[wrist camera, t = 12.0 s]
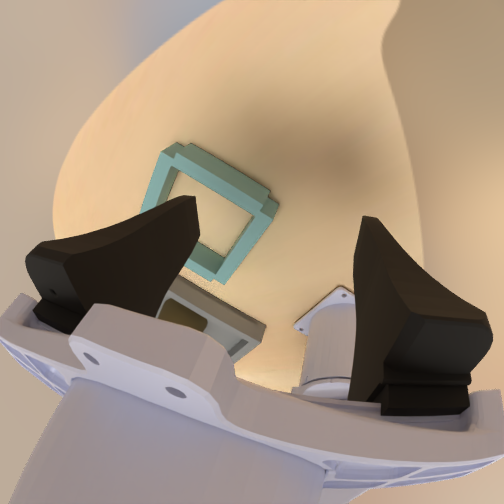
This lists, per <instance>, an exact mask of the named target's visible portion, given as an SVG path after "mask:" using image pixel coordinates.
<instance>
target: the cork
mask: <svg viewBox="0 0 504 504" xmlns="http://www.w3.org/2000/svg"><path fill="white" fill-rule="evenodd" d="M157 319H160V320H164V321H168V322H172V323H175V324H179V325H183V326H187V327H190V328H192V329H195V330H197V331H200V332H202V333H203V331H204V330H205V329H206V327H207V324H208V322H207V319H206V318H204V317H203V316H201V315H199V314H197V313H196V312H194V311H192V310H191V309H189V308H187V307H186V306H184V305H182V304H181V303H179V302H177V301H176V300H174V299H172V298H170V299H168V300H166V301H165V302H164V304H163V306H162V309H161V311H160V314H159V316H158V318H157Z"/></svg>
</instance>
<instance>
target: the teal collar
mask: <svg viewBox="0 0 504 504" xmlns="http://www.w3.org/2000/svg"><path fill="white" fill-rule="evenodd" d="M179 170H180V171H182V172H183V173H185V174H187V175H188V176H190V177H192V178H193V179H195V180H197V181H198V182H200V183H202V184H203V185H205V186H207V187H208V188H210V189H212V190H213V191H215V192H216V193H218V194H220V195H221V196H223V197H225V198H226V199H228V200H230V201H231V202H233V203H234V204H236V205H238V206H239V207H241V208H243V209H244V210H246V211H247V212H249V213H251V214H252V215H253V217H252V218H251V220H250V221H249V223H248V224H247V226H246V227H245V229H244V230H243V231H242V233H241V234H240V236H239V237H238V239H237V240H236V242H235V243H234V245H233V246H232V248H231V249H230V251H229V252H228V254H227V255H226V257H225V258H224V257H222V256H220V255H219V254H217V253H215V252H214V251H212V250H210V249H209V248H207V247H206V246H204V245H202V244H201V243H199V242H197V244H196V246H195V248H194V250H193V252H192V254H191V255H190V257H189V258H188V260H187V261H186V263H185V265H184V266H185V267H187V268H188V269H190V270H192V271H193V272H195V273H197V274H198V275H200V276H202V277H203V278H205V279H207V280H208V281H210V282H211V281H212V279H215V280H217V281H218V282H220V283H222V284H223V285H225V284H226V282H227V281H228V280H229V278H230V277H231V276H232V274H233V273H234V272H235V270H236V269H237V268H238V266H239V265H240V264H241V262H242V261H243V259H244V258H245V257H246V255H247V254H248V253H249V251H250V250H251V249H252V247H253V246H254V245H255V243H256V242H257V241H258V239H259V238H260V237H261V235H262V234H263V233H264V231H265V230H266V229H267V227H268V226H269V225H270V223H271V222H272V221H273V219H274V217H275V214H276V211H277V209H278V206H279V204H278V203H276V202H275V201H273V200H272V199H270V198H268V195H269V193H270V190H268V189H267V188H265V187H263V186H262V185H260V184H259V183H257V182H255V181H254V180H252V179H251V178H249V177H247V176H246V175H244V174H243V173H241V172H239V171H238V170H236V169H234V168H233V167H231V166H229V165H228V164H226V163H224V162H223V161H221V160H219V159H218V158H216V157H214V156H212V155H211V154H209V153H207V152H206V151H204V150H202V149H200V148H199V147H197V146H195V145H193V144H192V143H190V144H189V145H187V146H186V147H184V146H182V145H180V144H178V143H177V142H176V143H174V144H173V145H171V146H169V147H168V148H166V149H164V150H163V151H161V153H160V155H159V158H158V161H157V163H156V166H155V169H154V172H153V175H152V177H151V180H150V183H149V186H148V189H147V192H146V195H145V198H144V201H143V204H142V208H141V211H140V214H141V213H143V212H145V211H148V210H150V209H152V208H154V207H156V206H158V205H160V204H162V203H165V202H166V200H167V198H168V195H169V193H170V190H171V188H172V185H173V183H174V180H175V178H176V176H177V173H178V171H179Z"/></svg>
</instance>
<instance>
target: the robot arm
mask: <svg viewBox="0 0 504 504" xmlns="http://www.w3.org/2000/svg"><path fill="white" fill-rule="evenodd" d="M199 237H200V229H199V221H198V213H197V205H196V197H195V196H186V195H183V196H179V197H176V198H174V199H171V200H169V201H167V202H165V203H162V204H160V205H158V206H156V207H154V208H152V209H150V210H148V211H145V212H143V213H141V214H139V215H136V216H134V217H132V218H130V219H128V220H125V221H123V222H120V223H118V224H115V225H112V226H109V227H106V228H103V229H100V230H97V231H93V232H90V233H87V234H83V235H78V236H74V237H69V238H64V239H58V240H51V241H44V242H41V243H40V244H38V245H37V246H36V247H35V248H34V249H33V250H32V251H31V252H30V253H29V254H28V255H27V256H26V260H25V263H26V268H27V271H28V273H29V276H30V278H31V279H32V281H33V283H34V285H35V287H36V289H37V290H38V292H39V293H40V295H41V297H42V299H41V300H40V302H39V303H38V302H37V301H36V300H35V299H33V298H32V297H30V296H28V295H26V294H24V293H20V295H19V296H18V297H17V298H16V299H15V300H14V302H13V303H12V304H11V305H10V306H9V307H8V309H7V310H6V311H5V312H4V313H3V315H2V316H1V317H0V343H1V344H2V345H3V346H4V347H5V349H6V350H7V351H8V352H9V353H10V354H11V355H12V356H13V358H14V359H15V360H16V361H17V362H18V363H19V364H20V365H21V366H22V367H23V368H25V369H26V370H27V371H28V372H30V373H31V374H32V375H34V376H35V377H36V378H38V379H39V380H40V381H41V382H43V383H44V384H45V385H47V386H48V387H49V388H51V389H52V390H53V391H55V392H56V393H58V394H59V395H60V396H62V397H63V398H62V400H61V401H60V403H59V405H58V407H57V408H56V410H55V412H54V413H53V415H52V417H51V419H50V421H49V423H48V424H47V426H46V428H45V430H44V431H43V433H42V435H41V437H40V439H39V441H38V443H37V444H36V446H35V448H34V450H33V452H32V454H31V456H30V458H29V460H28V462H27V464H26V466H25V468H24V471H23V473H22V475H21V477H20V479H19V481H18V483H17V485H16V488H15V490H14V492H13V494H12V497H11V499H10V501H9V504H349V502H350V501H351V500H353V499H355V498H356V497H358V496H360V495H361V494H363V493H365V492H366V491H368V490H369V489H372V488H373V489H374V488H388V487H398V486H408V485H416V484H423V483H430V482H436V481H442V480H448V479H453V478H458V477H463V476H466V475H468V474H470V473H472V472H475V471H477V470H479V469H481V468H483V467H485V466H487V465H489V464H492V463H493V462H495V461H497V460H499V459H501V458H503V457H504V411H503V404H502V398H501V392H500V390H499V389H492V390H479V391H475V392H472V393H470V394H468V388H467V385H470V384H471V381H472V380H471V374H470V372H471V371H472V370H473V369H474V368H475V367H476V365H477V364H478V363H479V362H480V361H481V360H482V359H483V357H484V356H485V355H486V354H487V352H488V350H489V349H490V347H491V344H492V342H493V333H492V330H491V327H490V324H489V321H488V319H487V315H486V313H485V312H484V311H482V310H480V309H478V308H477V307H475V306H473V305H471V304H469V303H468V302H466V301H464V300H463V299H461V298H460V297H458V296H457V295H455V294H454V293H452V292H451V291H449V290H448V289H447V288H445V287H444V286H443V285H441V284H440V283H439V282H438V281H436V280H435V279H434V278H432V277H431V276H430V275H429V274H428V273H427V272H426V271H425V270H423V269H422V268H421V267H420V266H419V265H418V264H417V263H416V262H415V261H414V260H413V259H412V258H411V257H410V256H409V255H408V254H407V253H406V251H405V250H404V249H403V248H402V247H401V246H400V245H399V244H398V242H397V241H396V240H395V239H394V238H393V236H392V235H391V234H390V233H389V232H388V230H387V229H386V228H385V227H384V225H383V224H382V223H381V222H380V221H379V219H378V218H375V217H369V216H363V217H362V222H361V226H360V231H359V236H358V240H357V245H356V249H355V253H354V264H353V282H354V294H352V293H351V292H349V291H348V290H346V289H345V288H343V287H338V288H336V289H335V290H334V291H333V292H332V293H330V294H329V295H328V296H327V297H326V298H325V299H323V300H322V301H321V302H320V303H319V304H317V305H316V306H315V307H314V308H313V309H311V310H310V311H309V312H308V313H307V314H305V315H304V316H303V317H302V318H301V319H299V320H298V321H297V322H296V323H295V324H294V329H295V330H297V331H299V332H301V333H303V334H305V335H307V336H308V338H307V344H306V350H305V356H304V361H303V367H302V372H301V378H300V383H299V387H292V391H291V393H287V392H281V391H276V390H271V389H268V388H265V387H262V386H259V385H257V384H254V383H251V382H249V381H246V380H243V379H241V378H238V377H236V376H235V370H234V363H233V361H232V359H231V358H230V356H229V354H228V352H227V351H226V349H225V348H224V346H222V345H221V344H220V343H218V342H217V341H216V340H214V339H213V338H212V337H210V336H209V335H207V334H205V333H202V332H200V331H197V330H195V329H192V328H190V327H187V326H183V325H179V324H175V323H172V322H168V321H164V320H160V319H157V318H155V317H156V315H157V312H158V310H159V308H160V306H161V304H162V301H163V299H164V297H165V295H166V293H167V291H168V290H169V288H170V286H171V285H172V283H173V282H174V280H175V278H176V277H177V275H178V274H179V272H180V271H181V269H182V268H183V266H184V265H185V263H186V261H187V260H188V258H189V257H190V255H191V254H192V252H193V250H194V248H195V246H196V244H197V241H198V239H199ZM343 294H346V295H343Z"/></svg>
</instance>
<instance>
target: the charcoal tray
mask: <svg viewBox="0 0 504 504" xmlns="http://www.w3.org/2000/svg"><path fill="white" fill-rule="evenodd" d="M170 298H172V299H174V300H176V301H177V302H179V303H181V304H182V305H184V306H186V307H187V308H189V309H191V310H192V311H194V312H196V313H197V314H199V315H201V316H203V317H204V318H206V319H207V322H208V324H207V327H206V329H205V330H204V331H203V333H205V334H207V335H209V336H210V337H212V338H213V339H214V340H216V341H217V342H218V343H220V344H221V345H222V346H224V348H225V349H226V351H227V352H228V354H229V356H230V358H231V359H232V361H233V363H236V362H237V361H238V360H239V359H241V358H242V357H243V356H245V355H246V354H247V353H249V352H250V351H251V350H252V349H254V348H255V347H256V346H257V345H259V344H260V343H261V341H262V338H263V334H264V331H265V327H266V325H264V324H262V323H260V322H259V321H257V320H255V319H253V318H251V317H250V316H248V315H246V314H244V313H243V312H241V311H239V310H237V309H236V308H234V307H232V306H230V305H229V304H227V303H225V302H223V301H222V300H220V299H218V298H217V297H215V296H213V295H211V294H210V293H208V292H206V291H205V290H203V289H201V288H200V287H198V286H196V285H195V284H193V283H191V282H190V281H188V280H186V279H185V278H183V277H182V276H180V275H177V277H176V278H175V280H174V282H173V283H172V285H171V286H170V288H169V290H168V291H167V293H166V295H165V297H164V299H163V301H162V304H161V306H160V308H159V310H158V312H157V315H156V317H155V318H158V316H159V314H160V311H161V309H162V306H163V304H164V302H165V301H166V300H168V299H170Z"/></svg>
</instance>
